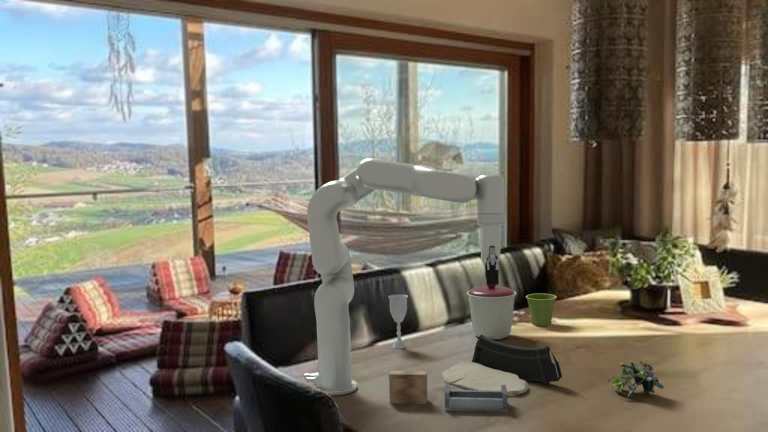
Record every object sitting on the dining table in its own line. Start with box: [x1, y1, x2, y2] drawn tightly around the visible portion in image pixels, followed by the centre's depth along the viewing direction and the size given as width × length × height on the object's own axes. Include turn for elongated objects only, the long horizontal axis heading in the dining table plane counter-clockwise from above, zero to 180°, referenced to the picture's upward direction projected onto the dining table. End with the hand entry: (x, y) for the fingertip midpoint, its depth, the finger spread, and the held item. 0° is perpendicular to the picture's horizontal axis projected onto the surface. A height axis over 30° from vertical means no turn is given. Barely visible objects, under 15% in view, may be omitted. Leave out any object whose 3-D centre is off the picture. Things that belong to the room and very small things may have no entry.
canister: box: [466, 282, 517, 341], centre depth 242 cm, size 18×18×21 cm
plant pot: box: [525, 293, 557, 327], centre depth 259 cm, size 12×12×11 cm
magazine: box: [471, 335, 563, 386], centre depth 197 cm, size 17×3×30 cm
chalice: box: [387, 293, 409, 350], centre depth 232 cm, size 7×7×18 cm
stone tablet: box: [441, 361, 529, 397], centre depth 192 cm, size 16×30×2 cm, turn 36°
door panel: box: [388, 370, 429, 405], centre depth 178 cm, size 10×3×8 cm, turn 83°
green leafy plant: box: [607, 360, 665, 399], centre depth 178 cm, size 11×11×12 cm
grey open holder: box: [444, 383, 509, 413], centre depth 173 cm, size 16×7×5 cm, turn 83°
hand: (491, 281), depth 182 cm, fingers open, 9 cm apart
